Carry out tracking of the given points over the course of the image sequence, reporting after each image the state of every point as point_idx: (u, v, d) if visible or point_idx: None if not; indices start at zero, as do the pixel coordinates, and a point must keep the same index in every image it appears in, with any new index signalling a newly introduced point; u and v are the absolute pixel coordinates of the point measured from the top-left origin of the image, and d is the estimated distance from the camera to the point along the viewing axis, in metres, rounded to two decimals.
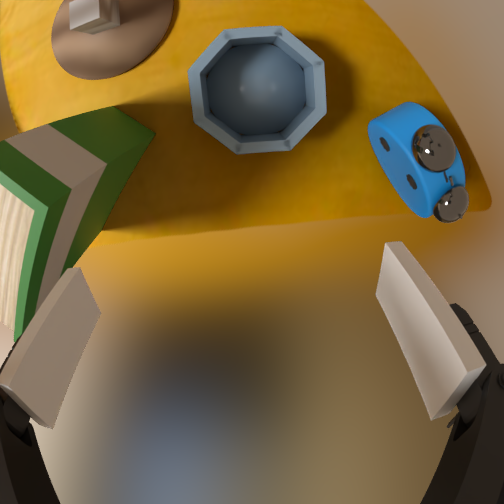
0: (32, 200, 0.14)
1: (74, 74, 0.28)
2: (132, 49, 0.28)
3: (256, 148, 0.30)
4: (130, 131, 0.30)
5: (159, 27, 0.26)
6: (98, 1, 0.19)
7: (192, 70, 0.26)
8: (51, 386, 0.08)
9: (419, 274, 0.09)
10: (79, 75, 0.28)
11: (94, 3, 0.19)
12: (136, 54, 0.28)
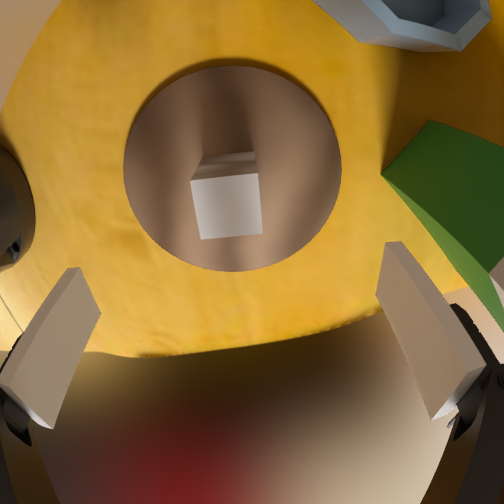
0: None
1: (316, 231, 0.26)
2: (306, 131, 0.21)
3: None
4: (449, 147, 0.17)
5: (274, 84, 0.19)
6: (218, 178, 0.17)
7: (393, 26, 0.12)
8: (51, 386, 0.08)
9: (419, 274, 0.09)
10: (321, 223, 0.25)
11: (220, 186, 0.17)
12: (316, 124, 0.21)
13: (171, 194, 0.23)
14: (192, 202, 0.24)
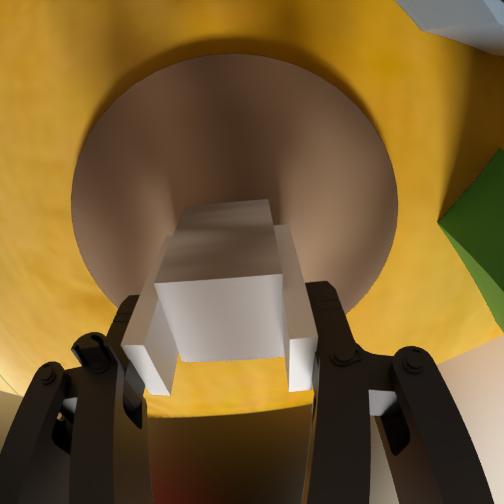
0: None
1: (350, 306, 0.18)
2: (352, 168, 0.13)
3: None
4: None
5: (305, 88, 0.11)
6: (205, 281, 0.09)
7: (497, 12, 0.05)
8: (169, 348, 0.10)
9: (287, 252, 0.11)
10: (358, 296, 0.17)
11: (210, 295, 0.09)
12: (368, 157, 0.13)
13: (142, 259, 0.16)
14: None
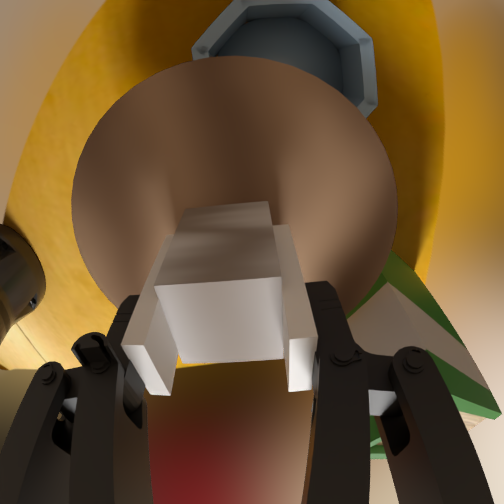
0: None
1: (350, 308, 0.18)
2: (352, 170, 0.13)
3: (371, 79, 0.19)
4: None
5: (304, 90, 0.11)
6: (205, 283, 0.09)
7: None
8: (169, 348, 0.10)
9: (287, 252, 0.11)
10: (358, 297, 0.17)
11: (209, 297, 0.09)
12: (368, 159, 0.13)
13: (142, 261, 0.16)
14: None
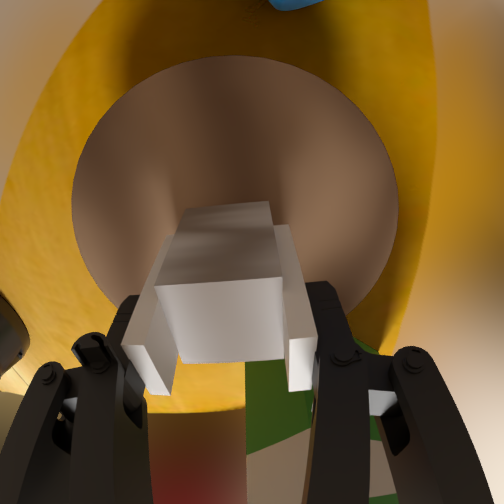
0: None
1: (351, 308, 0.18)
2: (353, 170, 0.13)
3: None
4: None
5: (305, 90, 0.11)
6: (205, 283, 0.09)
7: None
8: (169, 348, 0.10)
9: (287, 252, 0.11)
10: (359, 298, 0.17)
11: (210, 298, 0.09)
12: (368, 159, 0.13)
13: (143, 260, 0.16)
14: None
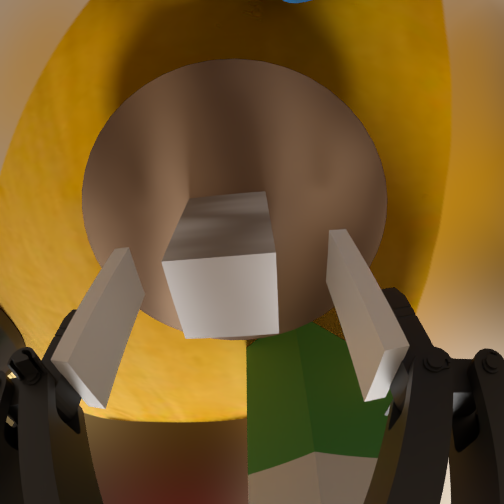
0: None
1: None
2: (343, 163, 0.14)
3: None
4: (283, 358, 0.26)
5: (298, 90, 0.12)
6: (207, 259, 0.10)
7: None
8: (105, 364, 0.09)
9: (355, 258, 0.10)
10: None
11: (211, 272, 0.10)
12: (357, 153, 0.14)
13: (148, 248, 0.17)
14: None
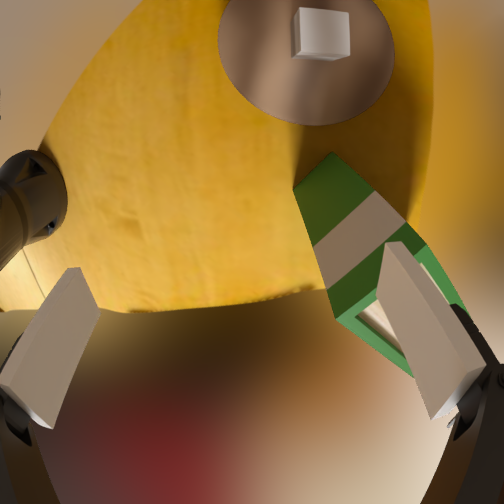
0: None
1: (375, 98, 0.25)
2: (368, 20, 0.21)
3: None
4: (330, 172, 0.32)
5: None
6: (320, 10, 0.17)
7: None
8: (51, 386, 0.08)
9: (419, 274, 0.09)
10: (379, 91, 0.25)
11: (321, 15, 0.17)
12: (375, 17, 0.21)
13: (259, 46, 0.23)
14: (277, 55, 0.24)
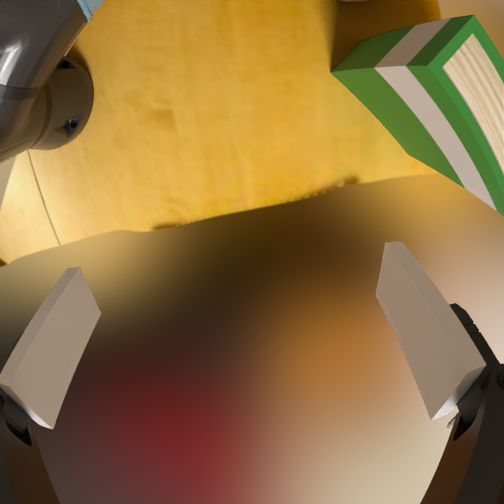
0: (469, 25, 0.11)
1: None
2: None
3: None
4: (366, 44, 0.27)
5: None
6: None
7: None
8: (51, 386, 0.08)
9: (419, 274, 0.09)
10: None
11: None
12: None
13: None
14: None
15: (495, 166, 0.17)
